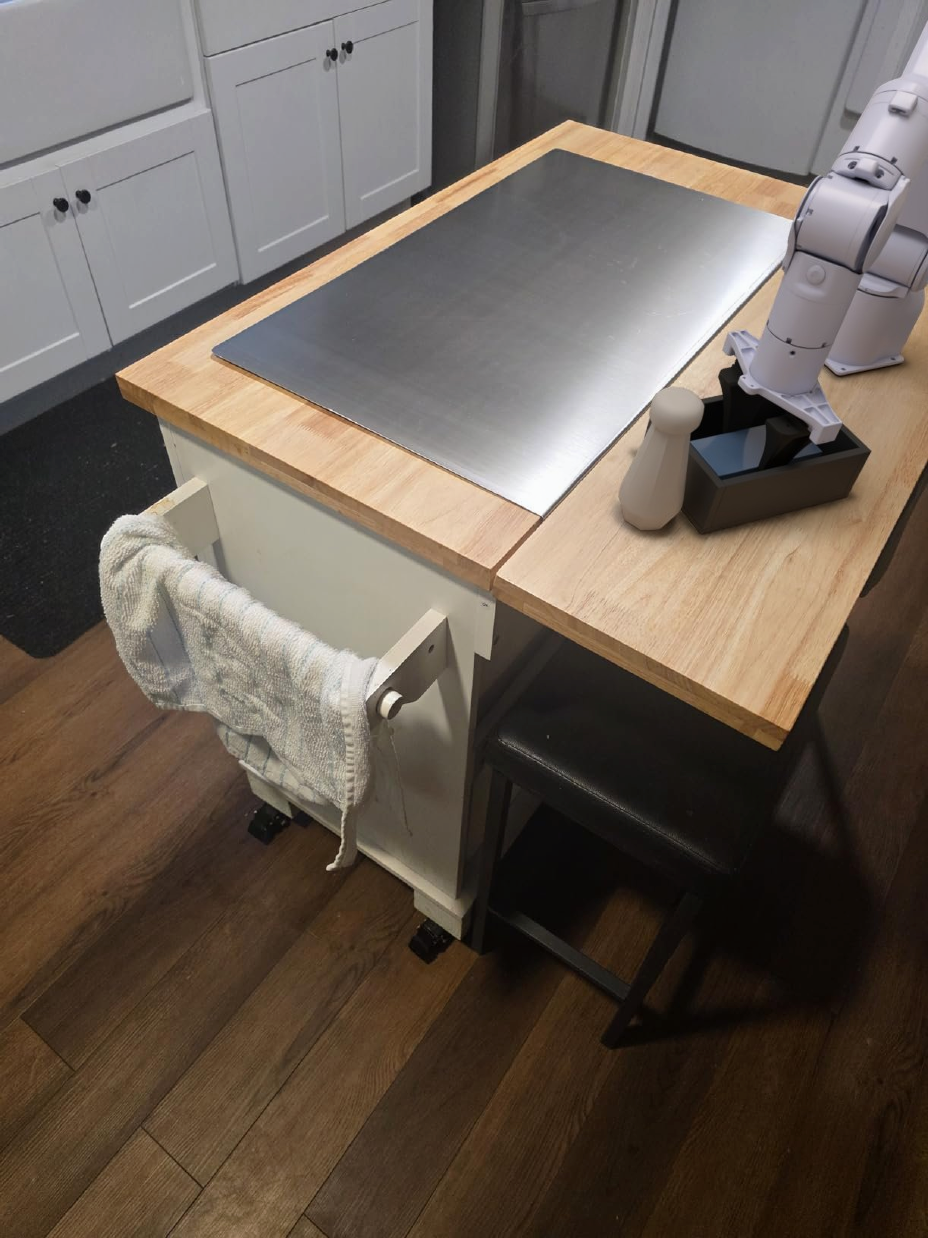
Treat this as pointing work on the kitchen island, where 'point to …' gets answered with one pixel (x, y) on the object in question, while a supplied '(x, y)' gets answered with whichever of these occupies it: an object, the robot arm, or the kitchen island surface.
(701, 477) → the tub
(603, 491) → the kitchen island surface
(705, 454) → the blue block in tray
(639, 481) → the salt shaker
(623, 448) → the kitchen island surface
